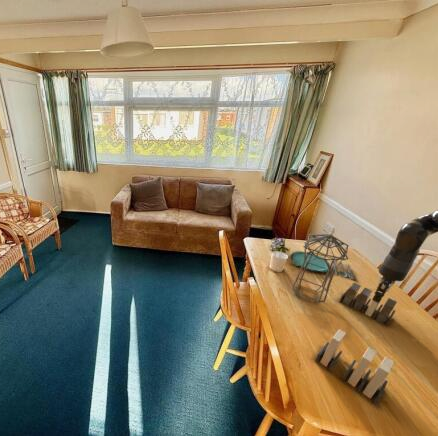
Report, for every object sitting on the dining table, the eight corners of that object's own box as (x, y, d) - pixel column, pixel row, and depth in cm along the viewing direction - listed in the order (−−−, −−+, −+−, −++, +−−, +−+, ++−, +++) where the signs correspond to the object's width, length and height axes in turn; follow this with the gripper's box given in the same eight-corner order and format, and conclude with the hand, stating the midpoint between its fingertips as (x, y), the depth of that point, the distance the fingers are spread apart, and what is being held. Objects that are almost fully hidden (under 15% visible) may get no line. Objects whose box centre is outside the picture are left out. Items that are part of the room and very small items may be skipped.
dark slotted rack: (382, 391, 74) (402, 364, 68) (374, 407, 70) (395, 380, 64) (322, 350, 87) (335, 324, 81) (312, 361, 83) (325, 335, 77)
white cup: (265, 266, 134) (269, 251, 130) (277, 264, 136) (281, 250, 132) (274, 274, 127) (278, 259, 123) (286, 272, 129) (291, 258, 124)
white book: (374, 310, 103) (387, 288, 97) (370, 316, 100) (383, 294, 94) (369, 307, 104) (381, 285, 99) (364, 313, 101) (377, 291, 96)
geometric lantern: (326, 295, 113) (353, 233, 98) (324, 315, 102) (353, 249, 87) (290, 281, 122) (310, 223, 107) (284, 298, 111) (305, 236, 96)
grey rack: (391, 319, 100) (402, 302, 95) (386, 328, 96) (397, 311, 91) (343, 296, 113) (351, 280, 108) (337, 303, 108) (345, 286, 104)
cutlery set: (290, 251, 149) (291, 248, 148) (348, 265, 135) (350, 262, 134) (289, 266, 134) (290, 263, 133) (354, 285, 119) (356, 281, 118)
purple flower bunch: (270, 256, 153) (269, 238, 155) (289, 257, 148) (288, 239, 151) (270, 255, 143) (270, 236, 145) (291, 256, 138) (290, 236, 141)
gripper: (404, 278, 85) (384, 311, 92) (413, 264, 92) (394, 296, 99) (378, 267, 90) (361, 299, 98) (388, 256, 98) (371, 286, 105)
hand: (378, 297), depth 98 cm, fingers closed on white book, 6 cm apart
